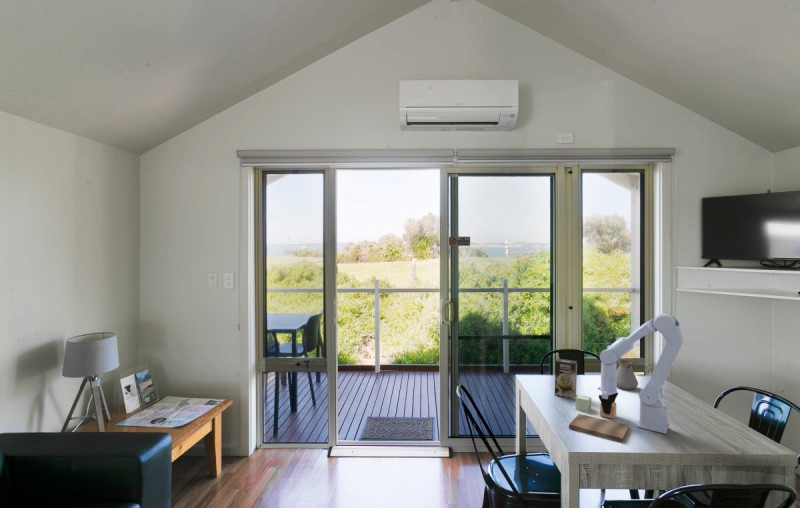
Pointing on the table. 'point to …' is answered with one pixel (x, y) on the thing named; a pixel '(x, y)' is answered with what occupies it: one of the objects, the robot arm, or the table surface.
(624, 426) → the walnut base
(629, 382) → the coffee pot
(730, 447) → the table surface
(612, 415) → the terracotta block
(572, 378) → the coffee box
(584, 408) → the sage block
